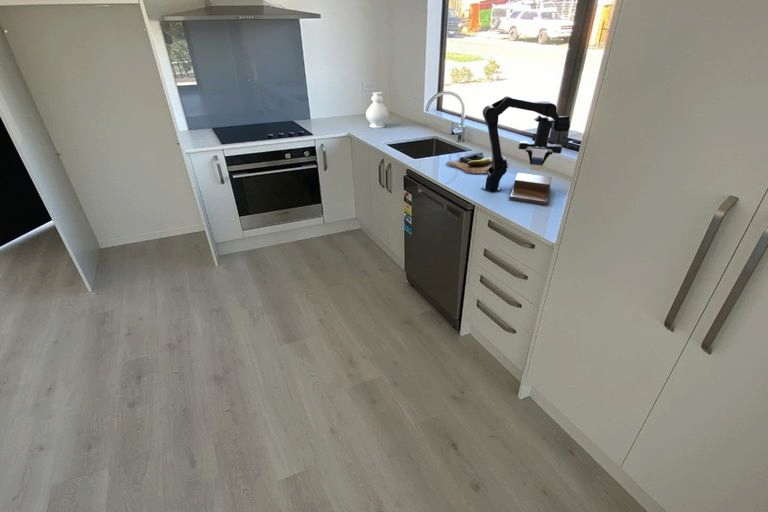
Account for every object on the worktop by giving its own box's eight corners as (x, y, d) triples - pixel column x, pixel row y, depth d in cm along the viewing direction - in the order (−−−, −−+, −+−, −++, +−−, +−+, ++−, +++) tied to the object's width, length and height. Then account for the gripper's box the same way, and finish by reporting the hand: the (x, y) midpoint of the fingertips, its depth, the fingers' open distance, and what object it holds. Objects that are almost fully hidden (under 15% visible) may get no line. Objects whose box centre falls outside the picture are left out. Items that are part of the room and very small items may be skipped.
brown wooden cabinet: (545, 205, 177) (548, 193, 174) (509, 200, 182) (511, 187, 179) (548, 188, 196) (551, 177, 193) (515, 184, 201) (517, 172, 198)
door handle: (500, 157, 233) (478, 150, 243) (479, 164, 222) (457, 156, 232) (498, 163, 235) (477, 155, 245) (478, 170, 224) (456, 161, 233)
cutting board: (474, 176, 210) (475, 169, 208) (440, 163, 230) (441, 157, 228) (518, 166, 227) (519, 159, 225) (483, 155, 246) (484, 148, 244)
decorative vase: (377, 129, 304) (377, 95, 292) (361, 126, 314) (360, 92, 302) (392, 126, 316) (393, 92, 303) (376, 123, 326) (376, 90, 313)
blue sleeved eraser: (540, 170, 183) (542, 162, 181) (529, 169, 184) (531, 161, 182) (541, 165, 190) (543, 157, 188) (531, 164, 191) (533, 156, 189)
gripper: (565, 129, 183) (557, 163, 191) (523, 126, 189) (517, 158, 197) (565, 135, 174) (557, 169, 182) (521, 130, 180) (515, 164, 188)
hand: (536, 165), depth 187 cm, fingers closed on blue sleeved eraser, 4 cm apart
